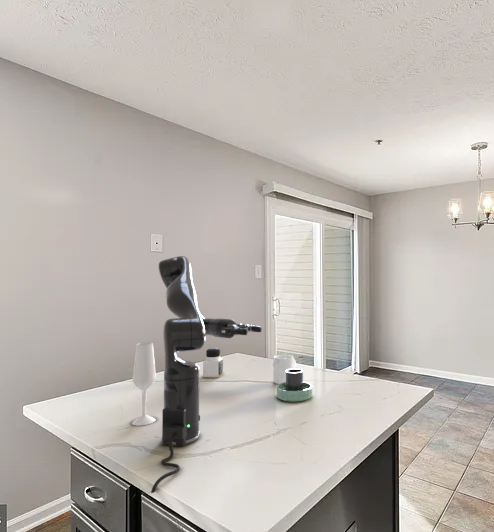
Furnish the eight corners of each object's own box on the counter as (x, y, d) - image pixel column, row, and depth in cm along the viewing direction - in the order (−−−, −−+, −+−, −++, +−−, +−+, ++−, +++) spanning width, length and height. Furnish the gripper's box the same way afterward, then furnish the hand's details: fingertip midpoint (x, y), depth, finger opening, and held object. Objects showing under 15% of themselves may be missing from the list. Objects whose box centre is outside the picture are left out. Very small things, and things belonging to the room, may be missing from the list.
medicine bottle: (218, 377, 167) (218, 350, 168) (202, 377, 167) (202, 350, 168) (223, 373, 174) (223, 347, 175) (207, 373, 174) (207, 347, 175)
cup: (301, 398, 137) (301, 373, 137) (283, 397, 138) (283, 372, 138) (304, 392, 143) (304, 369, 144) (288, 392, 144) (288, 368, 145)
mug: (303, 379, 163) (303, 355, 163) (283, 386, 154) (283, 359, 154) (289, 376, 169) (289, 352, 169) (269, 382, 160) (269, 356, 160)
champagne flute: (143, 426, 113) (144, 346, 113) (126, 423, 115) (127, 344, 116) (160, 418, 119) (161, 342, 120) (144, 416, 122) (144, 341, 122)
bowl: (308, 403, 133) (308, 392, 133) (272, 401, 135) (272, 390, 135) (315, 392, 146) (315, 381, 146) (281, 390, 148) (281, 380, 148)
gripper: (209, 320, 147) (241, 323, 139) (234, 317, 159) (265, 319, 151) (209, 340, 146) (241, 343, 139) (234, 334, 159) (265, 337, 151)
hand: (254, 330), depth 145 cm, fingers open, 8 cm apart
